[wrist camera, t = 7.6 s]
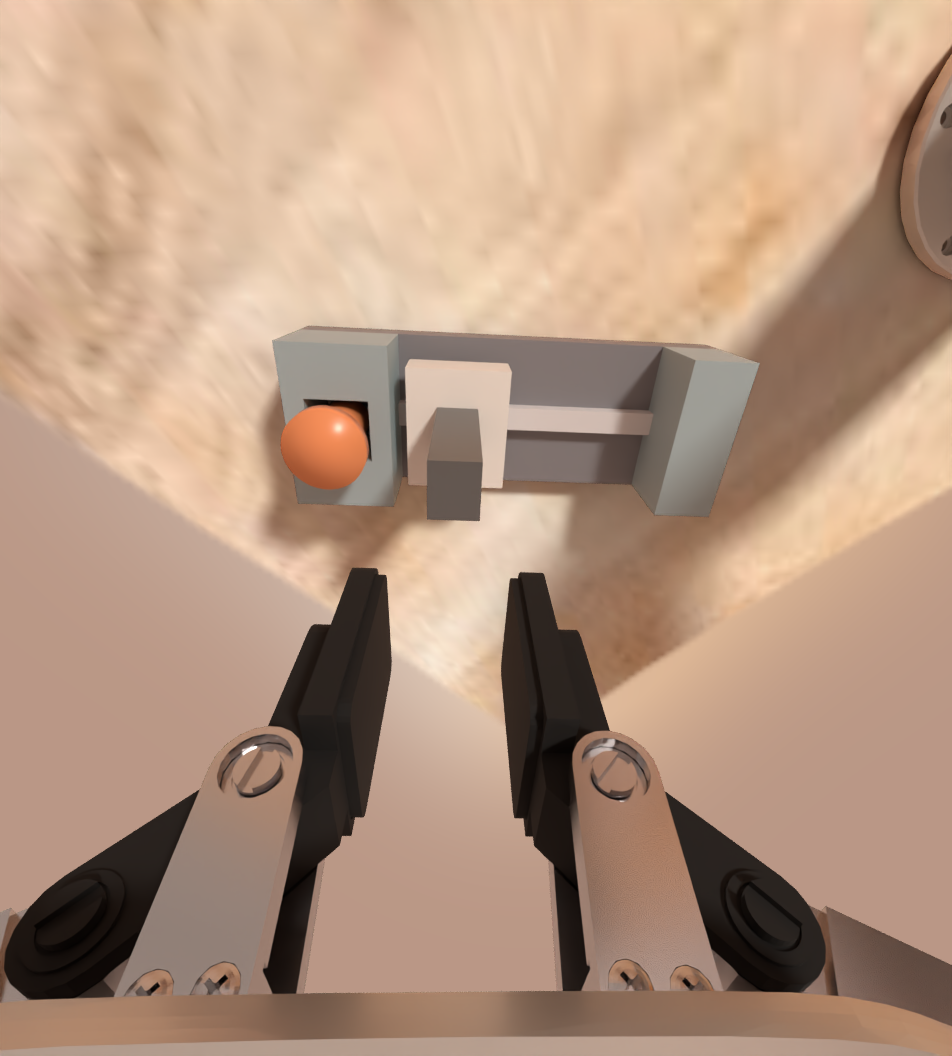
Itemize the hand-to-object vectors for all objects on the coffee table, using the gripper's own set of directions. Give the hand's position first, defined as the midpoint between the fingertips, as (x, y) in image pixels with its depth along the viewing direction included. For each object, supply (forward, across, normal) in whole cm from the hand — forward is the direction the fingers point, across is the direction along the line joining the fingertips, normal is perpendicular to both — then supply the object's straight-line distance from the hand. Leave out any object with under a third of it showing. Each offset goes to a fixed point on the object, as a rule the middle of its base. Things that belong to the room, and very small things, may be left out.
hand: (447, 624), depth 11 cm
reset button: (+16, +6, 0) cm, 17 cm away
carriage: (+16, 0, 0) cm, 16 cm away
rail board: (+19, -3, 0) cm, 19 cm away
